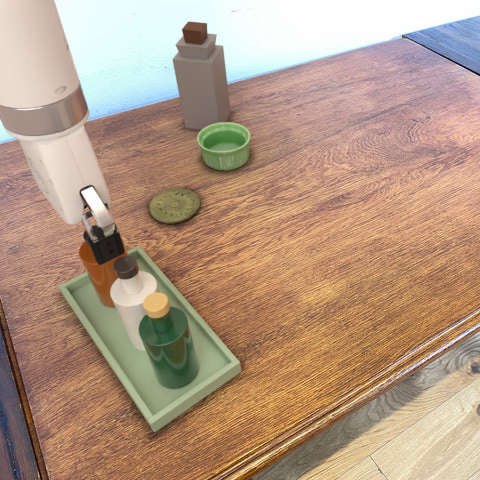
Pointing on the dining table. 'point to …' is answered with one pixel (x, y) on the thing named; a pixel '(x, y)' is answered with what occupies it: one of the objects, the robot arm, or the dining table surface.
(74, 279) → the tray
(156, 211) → the medallion
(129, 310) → the frosted bottle
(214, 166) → the ramekin
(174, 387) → the green glass bottle
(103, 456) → the dining table surface
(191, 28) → the perfume bottle
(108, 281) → the amber bottle
